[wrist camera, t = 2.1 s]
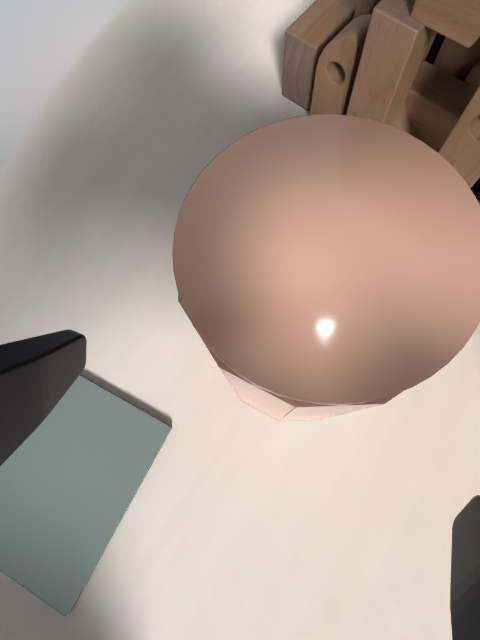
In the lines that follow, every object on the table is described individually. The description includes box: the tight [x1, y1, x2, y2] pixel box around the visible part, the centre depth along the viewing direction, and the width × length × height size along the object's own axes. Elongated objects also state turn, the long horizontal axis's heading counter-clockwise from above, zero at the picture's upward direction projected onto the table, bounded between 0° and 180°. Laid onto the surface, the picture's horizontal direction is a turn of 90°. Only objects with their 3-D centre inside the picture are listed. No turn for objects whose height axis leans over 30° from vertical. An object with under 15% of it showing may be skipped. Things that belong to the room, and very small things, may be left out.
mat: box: [0, 375, 172, 617], centre depth 19 cm, size 9×9×1 cm
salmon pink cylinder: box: [173, 114, 480, 421], centre depth 15 cm, size 8×8×11 cm
